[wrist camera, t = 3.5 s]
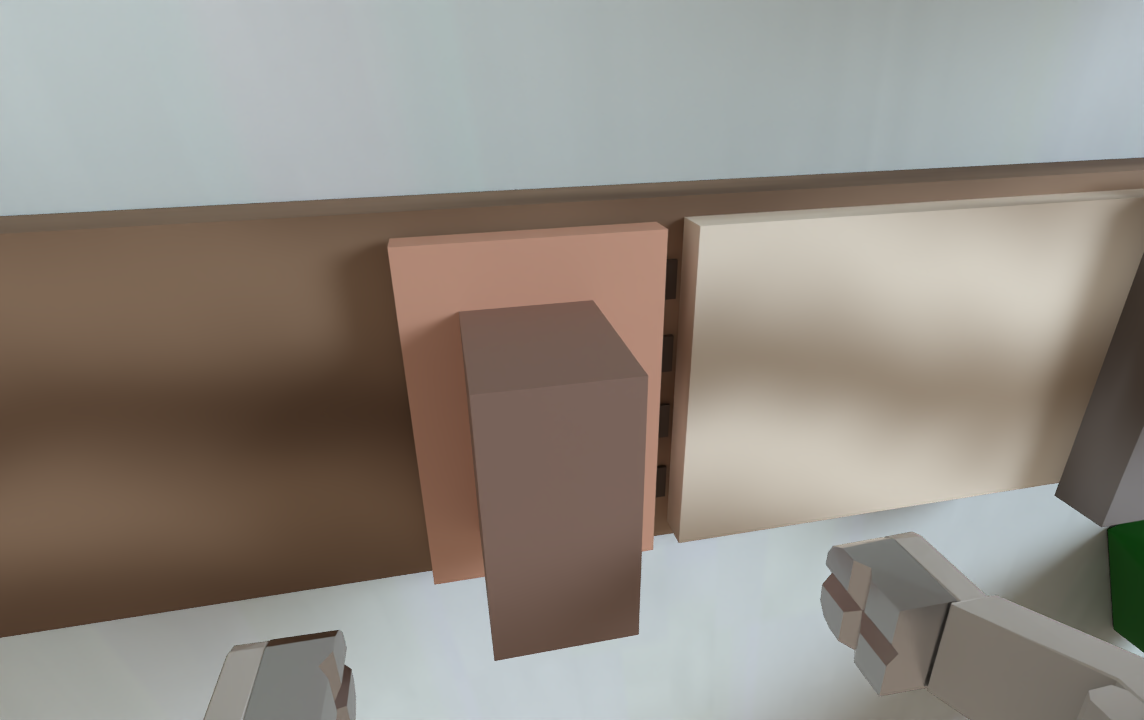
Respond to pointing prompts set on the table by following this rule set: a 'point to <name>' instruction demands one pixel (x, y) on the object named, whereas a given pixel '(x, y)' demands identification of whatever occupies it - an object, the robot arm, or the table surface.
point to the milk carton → (1128, 580)
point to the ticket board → (688, 375)
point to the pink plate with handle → (537, 419)
